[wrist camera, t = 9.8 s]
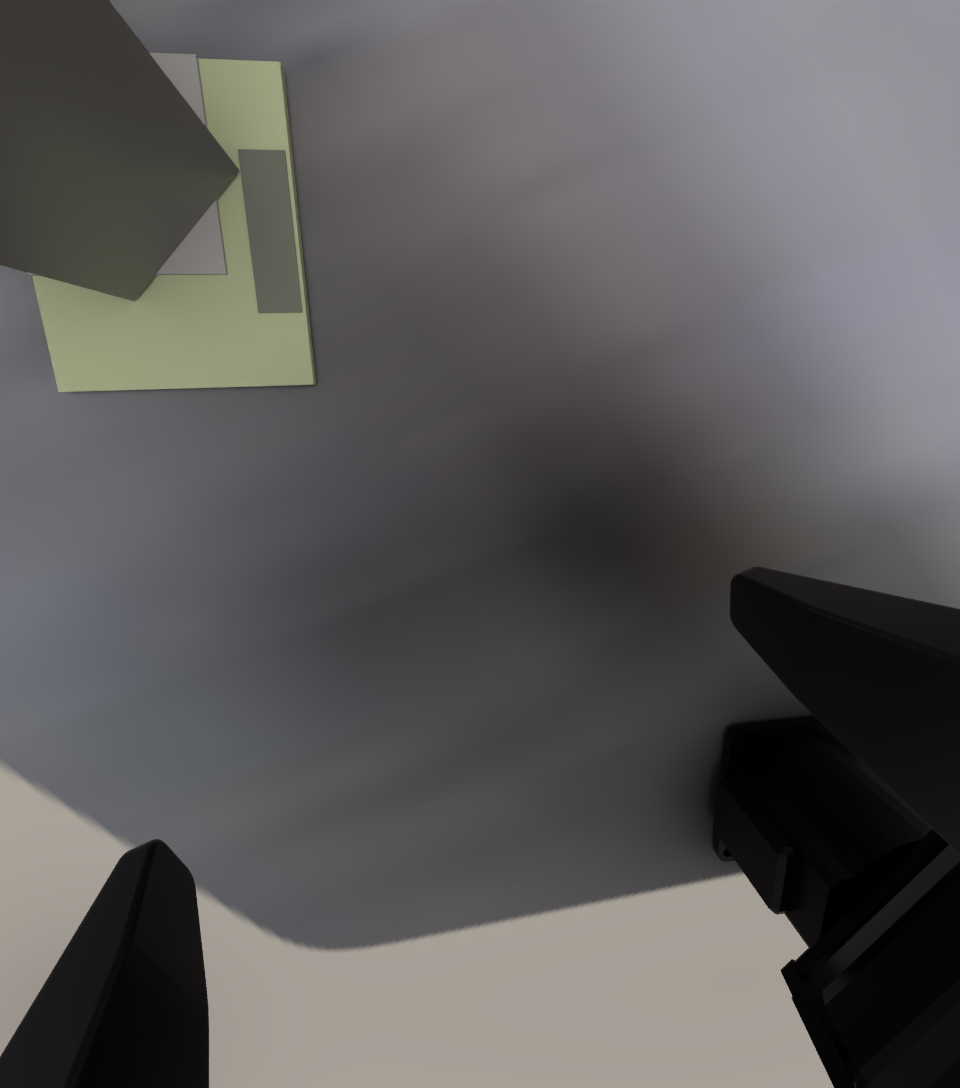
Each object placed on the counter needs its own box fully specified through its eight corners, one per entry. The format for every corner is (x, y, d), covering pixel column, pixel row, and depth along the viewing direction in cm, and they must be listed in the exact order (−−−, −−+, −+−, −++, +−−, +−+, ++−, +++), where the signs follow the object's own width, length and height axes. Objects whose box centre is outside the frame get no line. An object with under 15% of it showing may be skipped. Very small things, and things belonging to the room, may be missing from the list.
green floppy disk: (283, 73, 15) (278, 57, 15) (316, 384, 18) (312, 384, 17) (-4, 62, 15) (-26, 45, 14) (70, 391, 17) (54, 392, 16)
